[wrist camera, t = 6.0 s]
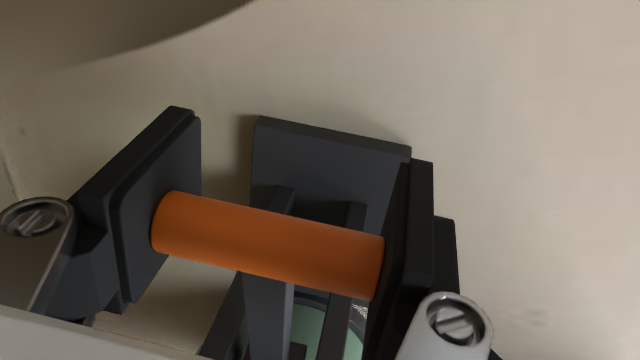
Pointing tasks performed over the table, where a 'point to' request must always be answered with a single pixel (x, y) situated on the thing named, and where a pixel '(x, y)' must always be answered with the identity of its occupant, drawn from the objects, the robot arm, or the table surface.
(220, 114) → the table surface
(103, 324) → the table surface
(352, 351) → the kettle
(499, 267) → the table surface
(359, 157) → the switch bracket
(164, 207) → the switch lever
